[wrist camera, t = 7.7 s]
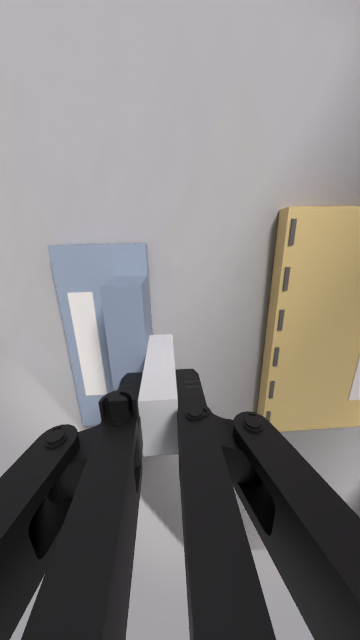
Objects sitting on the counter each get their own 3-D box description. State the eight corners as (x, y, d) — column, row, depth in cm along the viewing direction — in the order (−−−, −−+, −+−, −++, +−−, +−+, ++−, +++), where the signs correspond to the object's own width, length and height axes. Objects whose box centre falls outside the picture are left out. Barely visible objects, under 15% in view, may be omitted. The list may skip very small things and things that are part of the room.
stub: (55, 245, 14) (1, 243, 10) (146, 243, 15) (138, 241, 10) (87, 417, 19) (61, 474, 14) (157, 412, 19) (154, 467, 14)
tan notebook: (279, 209, 15) (290, 206, 14) (444, 207, 15) (468, 204, 14) (256, 422, 20) (261, 434, 19) (377, 414, 21) (390, 425, 20)
